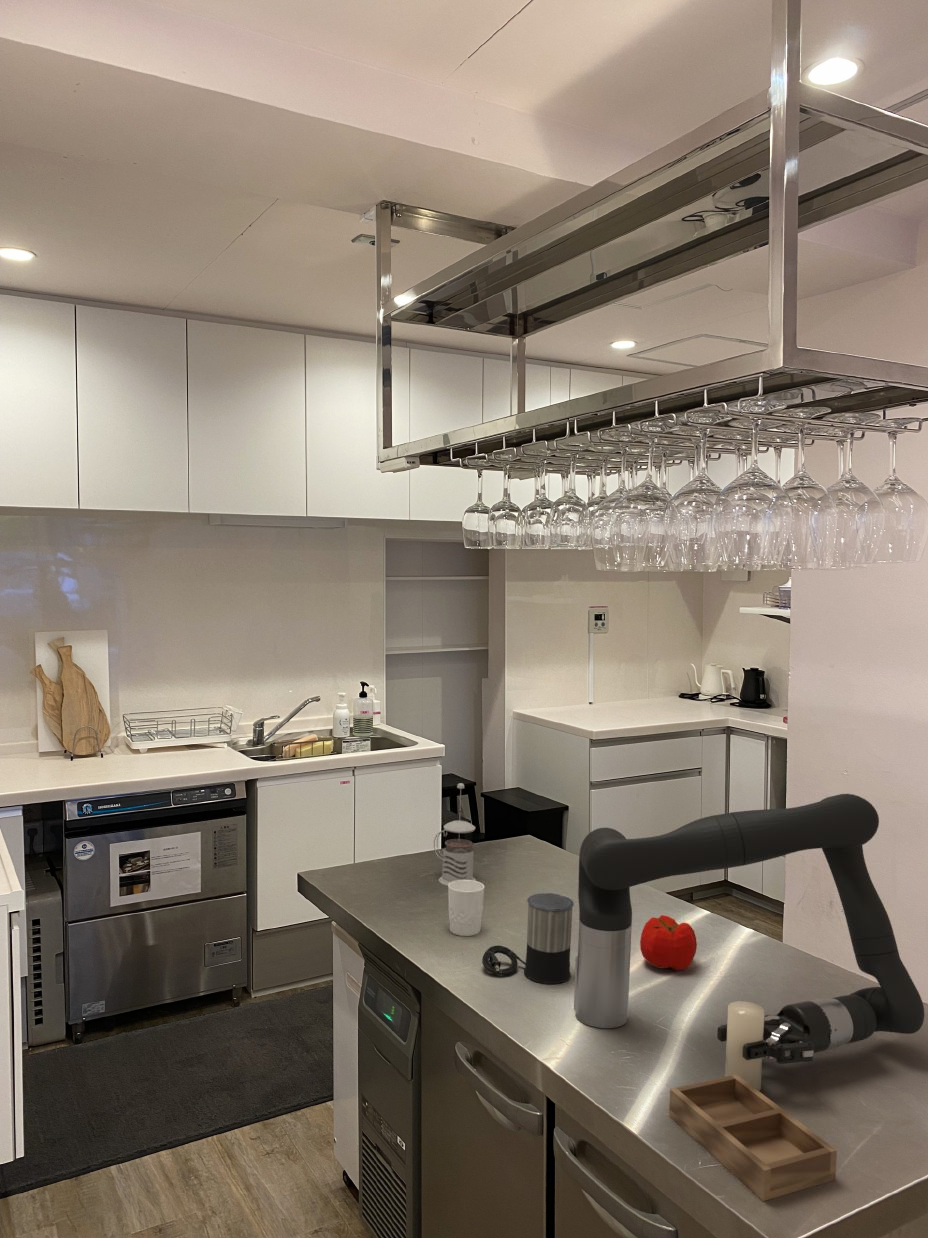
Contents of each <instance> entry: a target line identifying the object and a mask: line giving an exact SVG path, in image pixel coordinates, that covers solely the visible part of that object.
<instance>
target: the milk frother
mask: <svg viewBox="0 0 928 1238" xmlns="http://www.w3.org/2000/svg"><path fill="white" fill-rule="evenodd" d="M526 902H527V903H528V908H527V933H526V935H527V936H526V957H525V961H523V959H522V958H520V957H519V956H518V955H517V953H515V952H514V951H513V950H511V949H510V948H508V947H506V946H503V945H492V946H490V947H489V948H487V949H486V951H484V953H483V955H482V958H481V959H482V960H481V961H482V965H483V968H484V969H485V970H486V971H488V973H491V974H494V975H497V976H508V975H510V974H511V975H512V974H513V973H514V972H515V971H516V970H517V968H518V965H519V963H518V961H519V962H520V963H521V964H523V965H524V969H523V973H524V975H525V976H526V977H527V979H529V980H531V981H534V982H536V983H540V984H547V985H550V984H551V985H554V984H555V985H557V984H561V983H565V982H567V981H568V980H570V978H571V975H572V973H571V941H572V925H573V924H572V922H573V907H574V905H575V902H574V900H573V899H571V898H570V897H567V896H565V895H562V894H558V893H553V892H545V893H544V892H542V893H541V892H540V893H535V894H532V895H530V896H529V897H527V899H526ZM496 954H502V955H505V956H507V958H509V959H510V962H511V964H510V965H509V967H507V968H501V965H502V961H501V960H499V959H498V957H497V956H496Z"/></svg>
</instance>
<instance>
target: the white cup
mask: <svg viewBox="0 0 928 1238" xmlns="http://www.w3.org/2000/svg"><path fill="white" fill-rule="evenodd" d="M447 892H448V896H447V897H448V919H449V931H450V933H451V934H454V935H456V936H461V937H472V936H475V935H478V934H480V932H481V927H482V926H481V925H482V918H483V908H484V896H485V885H484V883H482V882H480V881H477V880H476V881H473V880H457V881H453V882H451V883H449V885H448V886H447Z"/></svg>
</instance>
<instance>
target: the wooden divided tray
mask: <svg viewBox="0 0 928 1238" xmlns="http://www.w3.org/2000/svg"><path fill="white" fill-rule="evenodd" d="M668 1108H669V1109H668V1110H669V1111H668V1116H669V1117H670V1118H671V1119H672V1120H673V1121H674V1122H675V1123H677V1125H679V1126H680V1127H681V1128H682V1129H683V1130H684V1131H685V1132H686V1133H687V1134H689V1135H690V1137H692V1138H693V1139H694V1140H695V1141H696V1142H698V1143H699V1145H700V1146H702V1147H703V1148H704V1149H705V1150H706V1151H707V1152H708V1153H709V1154H711V1156H713V1158H715V1159H716V1160H717V1161H718V1162H719V1163H721V1164H722V1165H723V1166H724V1167H725V1168H727V1169H728V1172H729V1171H730V1173H732V1175H734V1176H735V1177H736V1178H737V1179H738V1180H739V1181H740V1182H742V1184H744V1185H745V1186H746V1187H747V1188H748V1189H749V1190H750V1191H751V1192H753V1193H754V1194H755V1195H756V1196H757V1197H758V1198H759V1199H760V1200H761V1201H763V1202H765V1201H769V1200H772V1199H775V1198H778V1197H781V1196H785V1195H788V1194H793V1193H795V1192H796V1193H797V1192H799V1191H803V1190H805V1189H808V1188H809V1189H810V1188H812V1187H815V1186H818V1185H823V1184H825V1183H830V1182H833V1181H836V1171H837V1156H838V1155H837V1153H838V1150H837V1149H836V1148H835V1147H833V1146H832V1145H831V1144H829V1143H828V1142H826V1140H824V1139H823V1138H821V1137H820V1136H819V1135H817V1134H816V1133H815V1132H814V1131H812V1130H811V1129H809V1128H808V1127H807V1126H805V1125H804V1124H803V1123H801V1122H800V1121H799V1120H798V1119H796V1118H795V1117H794V1116H792V1115H791V1114H790V1113H789V1112H787V1111H786V1110H784V1108H782V1107H781V1106H779V1105H777V1103H775V1102H774V1101H772V1100H771V1099H770V1098H769V1097H767V1096H766V1095H765V1094H763V1093H762V1092H760V1091H758V1090H757V1089H755V1088H754V1087H753V1086H751V1085H750V1084H749V1083H747V1082H746V1081H745V1080H743V1079H742V1078H741V1077H739V1076H738V1075H737V1074H735V1075H730V1076H726V1077H725V1076H723V1077H718V1078H714V1079H708V1080H704V1081H700V1082H695V1083H692V1084H687V1085H683V1086H677V1087H674V1088H670V1090H669V1107H668Z"/></svg>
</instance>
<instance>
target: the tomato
mask: <svg viewBox="0 0 928 1238" xmlns="http://www.w3.org/2000/svg"><path fill="white" fill-rule="evenodd" d="M639 947H640V952H641V956H642V958H643V959H644V960H646V962H648V963H649V964H650V965H651V966H655V967H656V968H659V969H666V968H670V969H672V970H674V971H683V970H686V969H688V968H689V967H690V966H691V965H692V961H693V960H694V958H695V956H696V952H697V947H698V943H697V936H696V933H695V930H694V929H693V928H692V926H691V925H690V924H689V923H688V922H681V923H679V924H678V922H677V921H676V920H675V918H672V917H671V916H668V915H664V914H661V915H660V916H659V917H653V916H652V917H650V918H649V919H648V921H646V923H645V924H644V927H643V928H642V931H641V935H640V941H639Z"/></svg>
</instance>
